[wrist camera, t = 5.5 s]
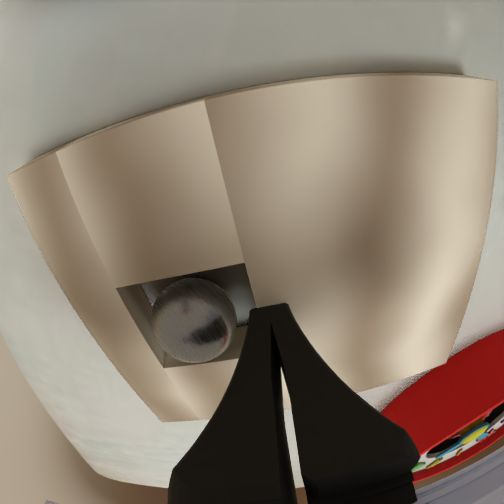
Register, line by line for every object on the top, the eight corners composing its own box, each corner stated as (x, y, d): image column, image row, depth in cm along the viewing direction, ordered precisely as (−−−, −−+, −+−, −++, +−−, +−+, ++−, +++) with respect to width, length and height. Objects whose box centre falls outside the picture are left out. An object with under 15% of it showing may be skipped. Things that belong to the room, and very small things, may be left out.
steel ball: (125, 295, 12) (191, 253, 14) (160, 353, 14) (217, 312, 15) (158, 333, 10) (239, 275, 11) (198, 394, 11) (263, 342, 13)
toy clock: (558, 342, 12) (556, 390, 19) (515, 288, 17) (535, 357, 24) (338, 490, 19) (427, 482, 27) (326, 434, 24) (415, 447, 32)
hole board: (465, 75, 9) (496, 81, 7) (433, 341, 18) (445, 363, 16) (33, 159, 10) (6, 176, 8) (164, 396, 18) (162, 422, 17)
